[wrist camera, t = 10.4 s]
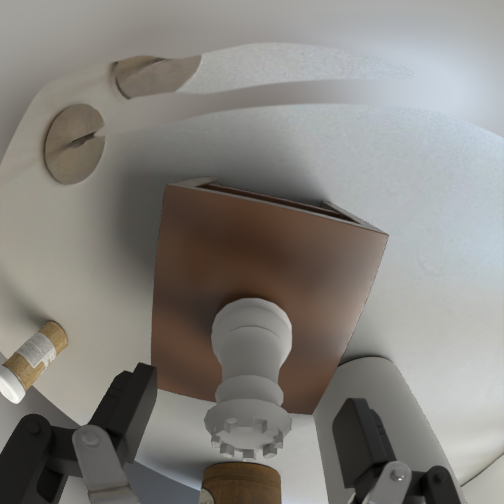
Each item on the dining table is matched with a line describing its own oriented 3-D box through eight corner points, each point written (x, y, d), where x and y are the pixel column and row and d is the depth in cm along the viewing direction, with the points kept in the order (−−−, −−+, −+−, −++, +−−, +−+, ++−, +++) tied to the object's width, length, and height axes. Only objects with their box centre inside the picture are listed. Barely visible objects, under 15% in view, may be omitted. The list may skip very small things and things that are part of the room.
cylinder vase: (334, 428, 35) (363, 569, 11) (292, 387, 32) (313, 578, 8) (407, 387, 32) (472, 522, 8) (380, 336, 30) (476, 517, 6)
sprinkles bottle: (62, 351, 32) (14, 408, 19) (42, 328, 31) (-11, 380, 18) (73, 338, 31) (20, 399, 18) (51, 314, 30) (-8, 368, 17)
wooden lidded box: (207, 175, 25) (165, 184, 13) (334, 204, 25) (389, 234, 14) (186, 309, 29) (150, 386, 17) (296, 331, 29) (312, 415, 18)
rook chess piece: (210, 352, 16) (184, 462, 9) (217, 287, 15) (182, 397, 7) (282, 362, 16) (293, 473, 9) (299, 299, 15) (329, 412, 7)
